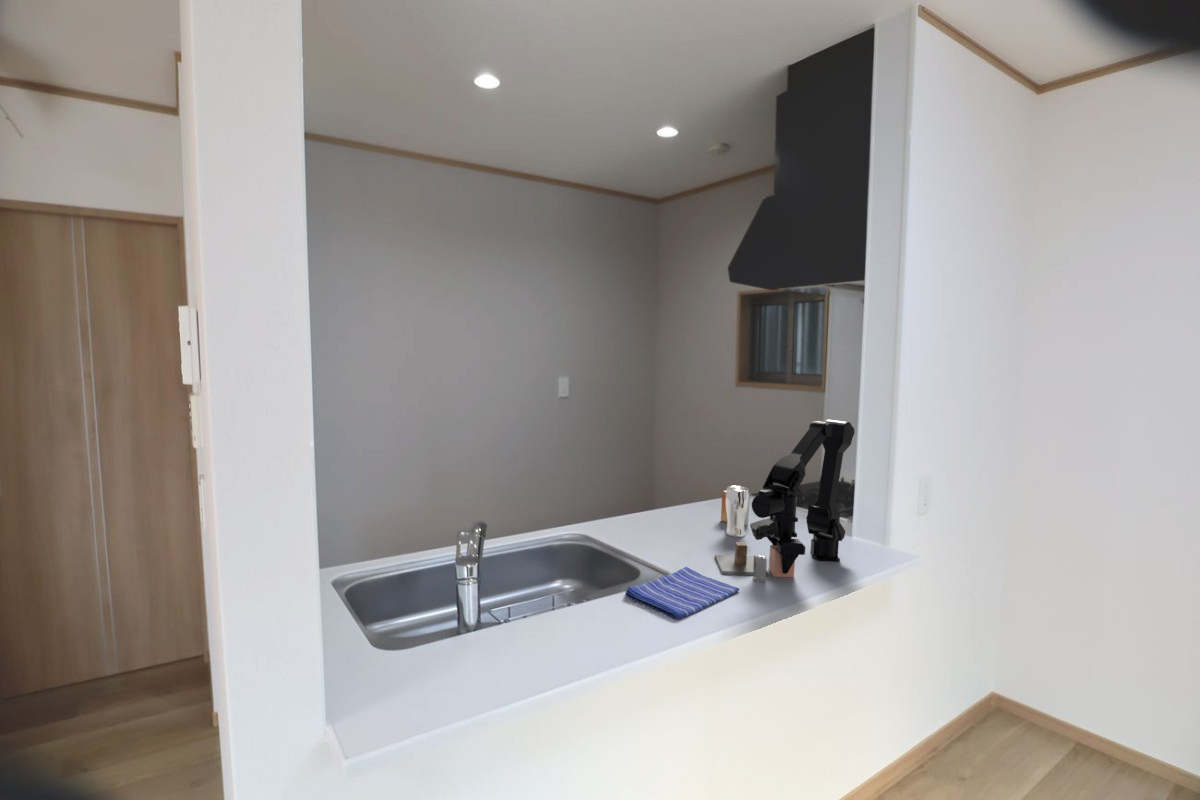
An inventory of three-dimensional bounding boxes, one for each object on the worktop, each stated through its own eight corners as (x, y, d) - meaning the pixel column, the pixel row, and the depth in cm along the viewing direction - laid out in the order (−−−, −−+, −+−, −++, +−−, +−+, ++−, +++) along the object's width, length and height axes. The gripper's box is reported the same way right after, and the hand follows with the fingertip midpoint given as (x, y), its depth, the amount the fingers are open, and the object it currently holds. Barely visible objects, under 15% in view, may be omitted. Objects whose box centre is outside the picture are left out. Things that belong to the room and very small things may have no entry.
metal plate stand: (757, 558, 166) (758, 537, 166) (767, 575, 154) (769, 552, 154) (714, 557, 166) (715, 535, 166) (722, 574, 155) (723, 550, 154)
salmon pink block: (788, 569, 159) (789, 545, 158) (793, 577, 153) (795, 552, 153) (768, 568, 159) (770, 545, 158) (773, 576, 154) (775, 552, 153)
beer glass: (721, 535, 186) (723, 489, 184) (727, 529, 192) (729, 484, 190) (743, 539, 182) (745, 492, 181) (749, 533, 189) (751, 487, 187)
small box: (720, 520, 201) (721, 490, 200) (733, 518, 204) (734, 489, 203) (735, 527, 194) (736, 496, 193) (748, 525, 197) (750, 494, 195)
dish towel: (621, 597, 140) (622, 586, 140) (685, 572, 156) (685, 562, 156) (677, 624, 128) (677, 611, 127) (739, 594, 144) (740, 583, 143)
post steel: (763, 577, 153) (764, 555, 152) (765, 582, 150) (766, 559, 149) (752, 577, 153) (754, 555, 152) (755, 581, 150) (756, 559, 149)
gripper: (746, 500, 164) (743, 554, 165) (762, 521, 145) (759, 581, 147) (786, 502, 164) (783, 556, 165) (807, 522, 145) (804, 583, 147)
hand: (781, 568), depth 156 cm, fingers open, 6 cm apart
